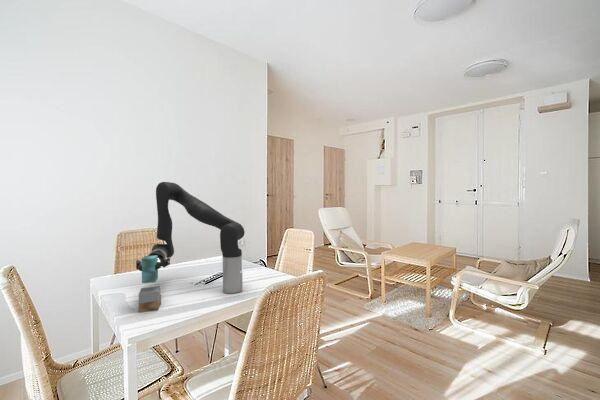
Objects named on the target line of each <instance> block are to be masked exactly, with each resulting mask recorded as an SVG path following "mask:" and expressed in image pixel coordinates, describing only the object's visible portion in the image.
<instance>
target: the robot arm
mask: <svg viewBox="0 0 600 400" xmlns="http://www.w3.org/2000/svg"><path fill="white" fill-rule="evenodd" d="M155 197H156V209H157V210H156V211H157V228H156V239H157V240H160V241H163V242H165V243H156V244H154V245H152V247H151V251H150V253H148V255H147V256H155V255H158V263H157V264H156V265H155V270H158V271H159V269H161V268H162V267H163V268H166V267H168V266H169V265H171V258H172V257H173V256H174V254H175V248H174V243H173V239H172V237H173V236H172V234H173V220H172V217H171V214H170V211H169V201H174V202H176V203H178V204H179V205H182V207H183V208H184V209H185V211H186V213H188V215H189V216H190V217H192V218H193V219H195V220H197V221H198V222H199V223H203V224H205V225H208V226H212V227H214V228H217V229H218V230H220V232H219V243H220V245H219V246H220V251H221V254H222V292H223V293H225V294H237V293H240V292H243V262H242V261H243V255H242V249H241V248H240V247H239V242H238V241H239V240H241V239H243V238H244V236H245V234H246V233H245V228H244V226H243V225H242V224H241V223H239V222H237V221H235V220H233V219H231V218H229V217H227V216H225V215H224V214H222V213H221V212H219V211H218V210H216V209H214V208H213V207H211V206H210V205H209V204H207V203H205V202H204V201H202V200H201V199H199V198H197V197H196V196H194V195H192V194H190V193H189V192H187V191H186V190H185V189H184V188H183V187H181V186H180V185H179V184H178V183H176V182H169V181H162V182H159V183H158V184H157V186H156V189H155ZM135 269H136V270H138V271H140V272H142V260H139V259H136V260H135Z"/></svg>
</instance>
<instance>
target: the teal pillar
mask: <svg viewBox="0 0 600 400" xmlns="http://www.w3.org/2000/svg"><path fill="white" fill-rule="evenodd" d="M141 262H142V271H141V284H149V283H156V282H157V281H158V278H159V269H158V270H155V265H156V264H157V263H158V255H155V256H148V255H144V256H143V257H142V258H141Z"/></svg>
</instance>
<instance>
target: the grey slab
mask: <svg viewBox="0 0 600 400" xmlns="http://www.w3.org/2000/svg"><path fill="white" fill-rule="evenodd" d="M160 295H161V285H155V286H147V287H141V288H140V290H139V292H138V304H139V303H146V302H154V301H159V297H160Z"/></svg>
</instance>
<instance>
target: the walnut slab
mask: <svg viewBox="0 0 600 400" xmlns="http://www.w3.org/2000/svg"><path fill="white" fill-rule="evenodd" d="M161 305H162V295H161V294H160V297H159V301H154V302H146V303H139V302H138V314H139V313H140V314H141V313H148V312H156V311H157V312H158V311H159V309H160V307H161Z"/></svg>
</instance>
